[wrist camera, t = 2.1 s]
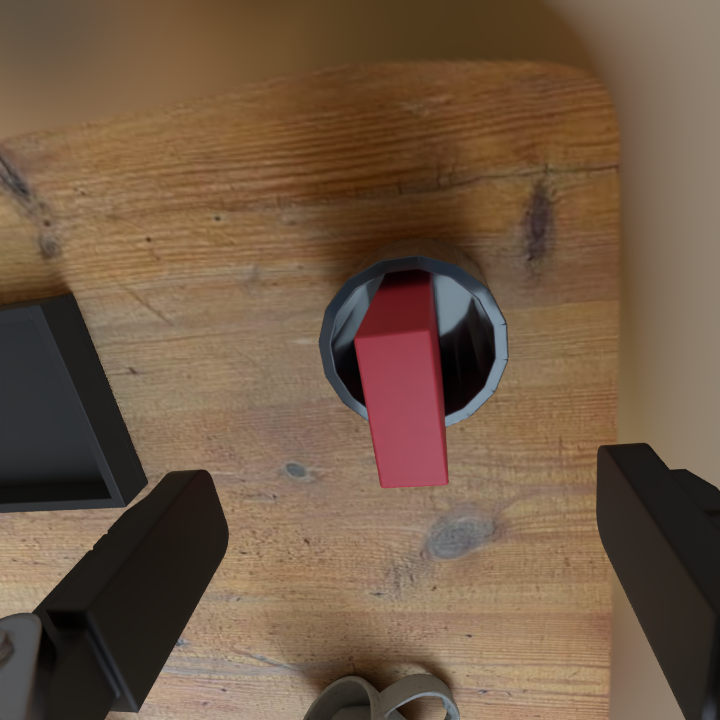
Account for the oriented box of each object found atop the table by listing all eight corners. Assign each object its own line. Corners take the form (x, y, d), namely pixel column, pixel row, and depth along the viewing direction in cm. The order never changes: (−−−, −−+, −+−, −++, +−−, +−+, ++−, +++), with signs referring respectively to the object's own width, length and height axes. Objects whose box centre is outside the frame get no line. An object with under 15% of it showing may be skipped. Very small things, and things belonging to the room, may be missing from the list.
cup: (363, 220, 21) (341, 234, 16) (511, 259, 20) (538, 286, 15) (332, 356, 23) (305, 405, 18) (462, 392, 23) (471, 452, 18)
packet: (430, 260, 20) (429, 328, 11) (441, 358, 22) (448, 486, 13) (387, 267, 21) (352, 337, 12) (401, 362, 23) (380, 489, 13)
